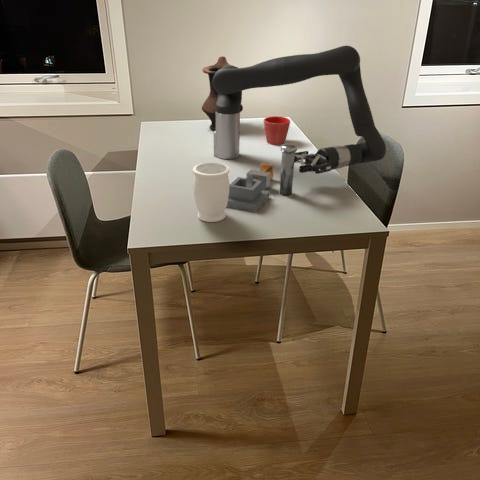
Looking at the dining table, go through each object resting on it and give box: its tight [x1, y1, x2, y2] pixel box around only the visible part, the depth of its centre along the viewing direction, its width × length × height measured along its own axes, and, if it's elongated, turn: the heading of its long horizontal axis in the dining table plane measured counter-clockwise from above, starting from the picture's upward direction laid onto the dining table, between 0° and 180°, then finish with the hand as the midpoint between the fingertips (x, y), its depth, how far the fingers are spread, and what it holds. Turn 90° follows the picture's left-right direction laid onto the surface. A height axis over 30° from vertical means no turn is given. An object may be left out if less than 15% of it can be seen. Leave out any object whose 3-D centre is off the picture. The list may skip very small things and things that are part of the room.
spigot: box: [279, 143, 298, 197], centre depth 153 cm, size 5×5×16 cm
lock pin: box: [253, 162, 275, 181], centre depth 162 cm, size 12×4×5 cm, turn 158°
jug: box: [201, 56, 244, 132], centre depth 214 cm, size 21×18×30 cm
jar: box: [192, 161, 230, 223], centre depth 138 cm, size 11×10×15 cm
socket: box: [226, 176, 270, 213], centre depth 150 cm, size 12×12×6 cm
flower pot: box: [263, 115, 291, 146], centre depth 202 cm, size 11×11×10 cm
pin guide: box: [245, 169, 271, 191], centre depth 160 cm, size 7×4×5 cm, turn 68°
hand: (292, 165), depth 153 cm, fingers open, 8 cm apart
